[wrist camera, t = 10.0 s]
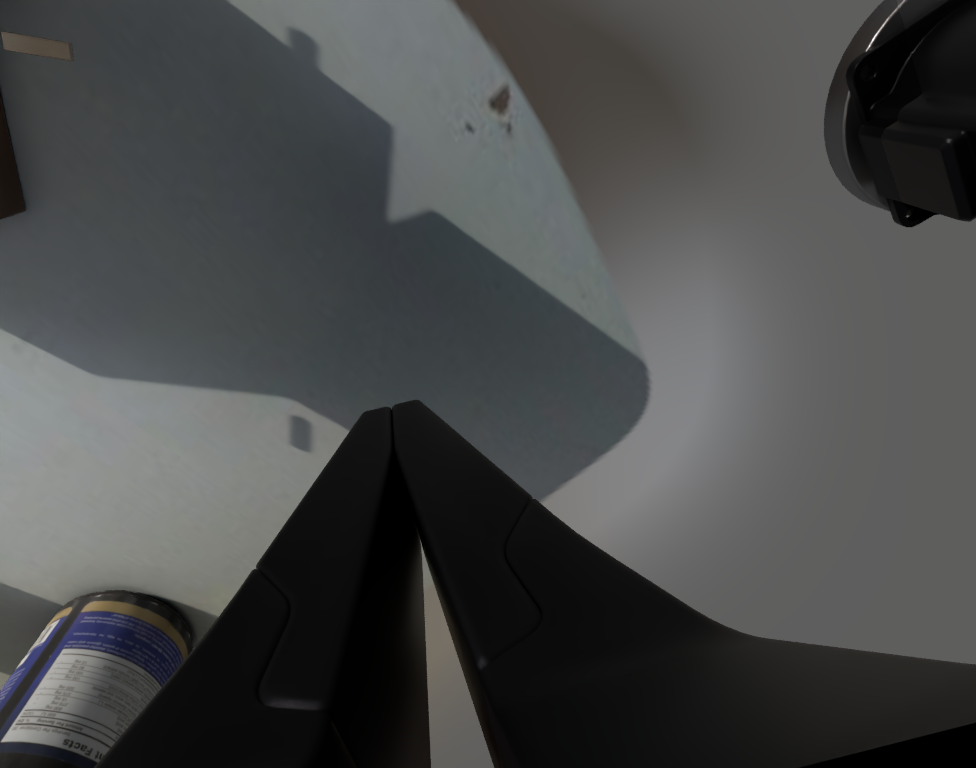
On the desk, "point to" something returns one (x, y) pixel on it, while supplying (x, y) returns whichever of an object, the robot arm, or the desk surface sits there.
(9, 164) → the panel
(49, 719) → the pill bottle
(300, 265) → the desk surface
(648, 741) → the robot arm
